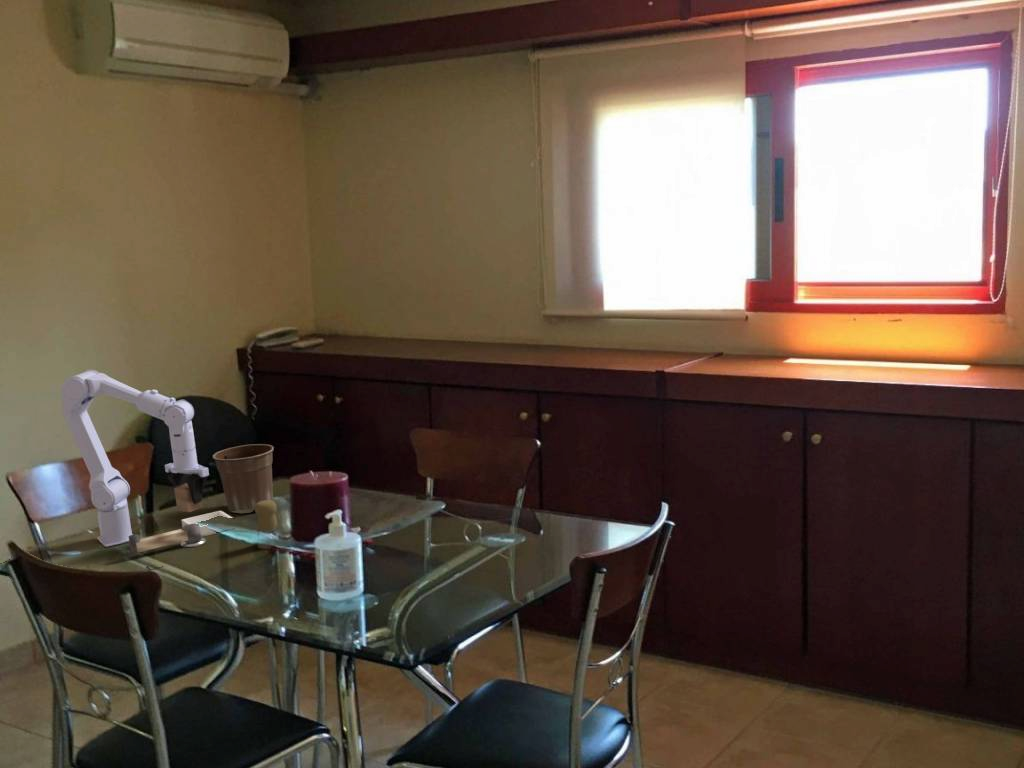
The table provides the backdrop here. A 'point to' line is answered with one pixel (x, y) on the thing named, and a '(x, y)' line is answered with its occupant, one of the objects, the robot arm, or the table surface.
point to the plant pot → (246, 475)
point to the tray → (204, 517)
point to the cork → (266, 516)
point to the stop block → (185, 499)
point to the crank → (165, 538)
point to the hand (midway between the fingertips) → (191, 501)
